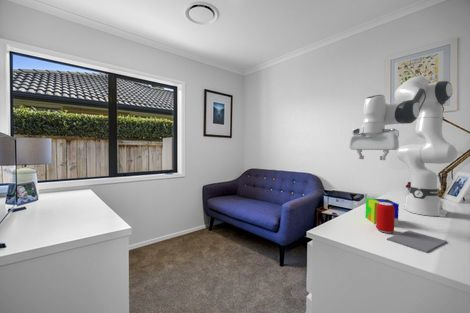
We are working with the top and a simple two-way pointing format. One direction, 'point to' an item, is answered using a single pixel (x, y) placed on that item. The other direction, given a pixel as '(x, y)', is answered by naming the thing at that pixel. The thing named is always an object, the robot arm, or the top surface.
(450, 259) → the top surface
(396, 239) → the mat
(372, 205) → the puzzle toy
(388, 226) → the beverage can
